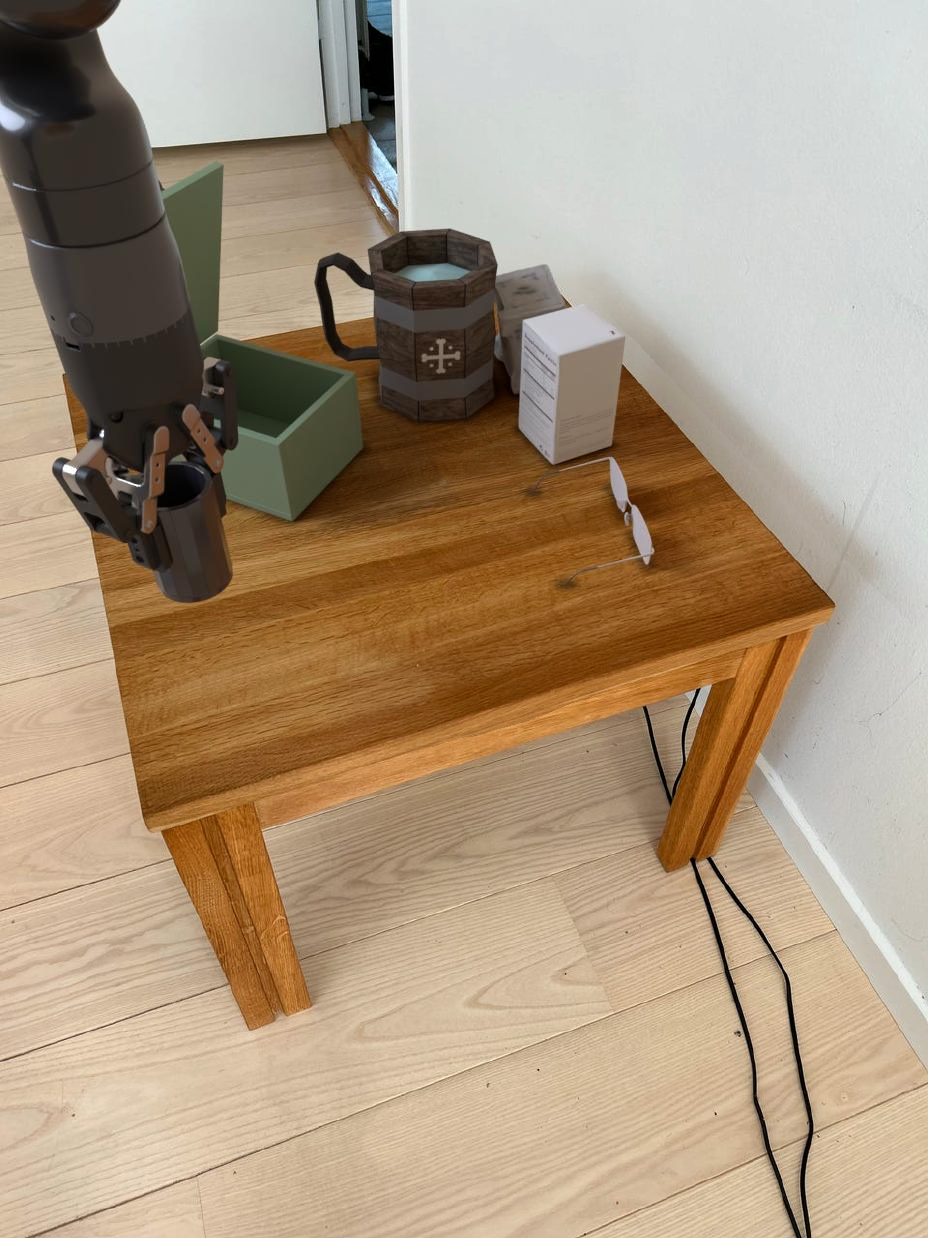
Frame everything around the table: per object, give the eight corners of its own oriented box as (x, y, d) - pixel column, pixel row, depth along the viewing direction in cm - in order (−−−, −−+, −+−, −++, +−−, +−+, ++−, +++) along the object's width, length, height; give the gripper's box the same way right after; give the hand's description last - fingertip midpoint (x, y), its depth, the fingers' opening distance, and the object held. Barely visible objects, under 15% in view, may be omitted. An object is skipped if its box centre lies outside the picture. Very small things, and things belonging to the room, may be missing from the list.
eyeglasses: (653, 577, 82) (656, 544, 79) (564, 593, 81) (564, 560, 78) (609, 481, 91) (610, 448, 88) (529, 495, 91) (528, 462, 88)
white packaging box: (576, 410, 100) (587, 300, 91) (613, 447, 95) (628, 335, 86) (515, 428, 98) (520, 317, 88) (550, 467, 93) (559, 354, 84)
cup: (165, 611, 62) (135, 519, 56) (150, 563, 65) (121, 472, 60) (241, 590, 64) (219, 498, 58) (223, 544, 67) (201, 453, 61)
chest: (363, 447, 95) (356, 372, 89) (292, 522, 87) (278, 445, 81) (231, 407, 100) (215, 333, 94) (153, 474, 92) (129, 398, 86)
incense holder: (483, 352, 108) (483, 266, 101) (552, 346, 109) (558, 261, 101) (497, 399, 101) (499, 310, 94) (571, 392, 102) (579, 304, 95)
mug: (509, 364, 106) (513, 235, 95) (479, 431, 97) (481, 296, 86) (347, 342, 110) (334, 215, 99) (305, 404, 101) (285, 272, 90)
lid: (224, 164, 80) (173, 137, 81) (122, 223, 72) (66, 193, 72) (218, 330, 94) (175, 307, 94) (132, 395, 86) (85, 369, 86)
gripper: (150, 237, 55) (206, 467, 68) (-38, 347, 47) (65, 589, 59) (253, 262, 53) (291, 496, 65) (77, 383, 44) (159, 628, 56)
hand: (184, 539), depth 62 cm, fingers closed on cup, 5 cm apart
